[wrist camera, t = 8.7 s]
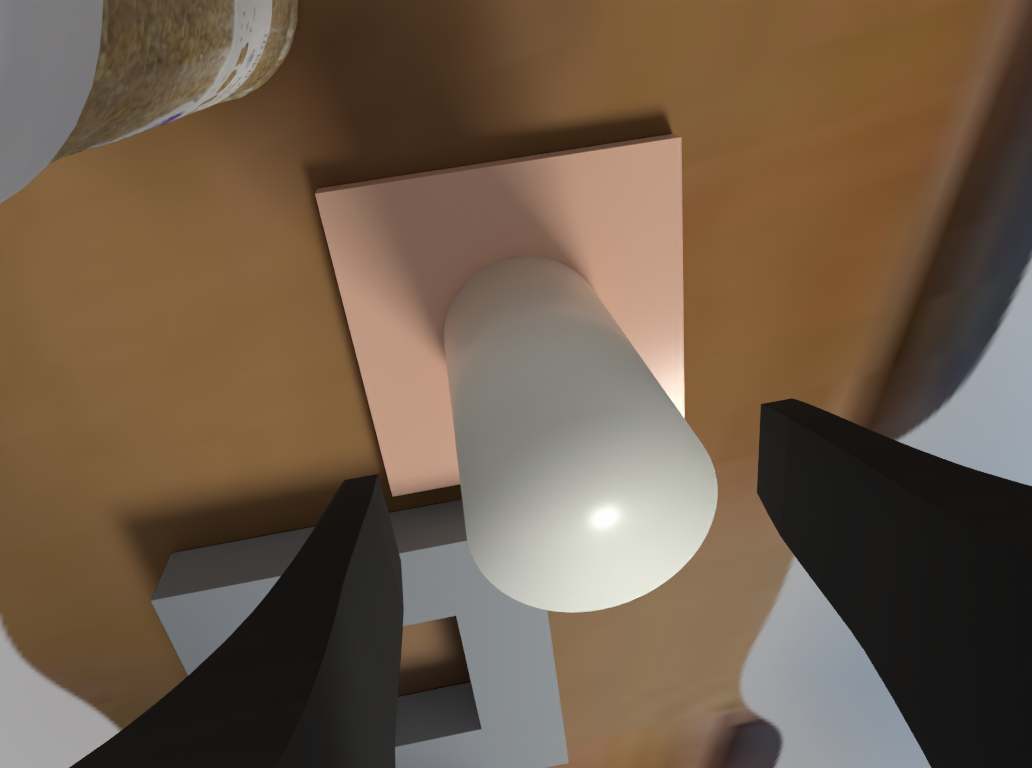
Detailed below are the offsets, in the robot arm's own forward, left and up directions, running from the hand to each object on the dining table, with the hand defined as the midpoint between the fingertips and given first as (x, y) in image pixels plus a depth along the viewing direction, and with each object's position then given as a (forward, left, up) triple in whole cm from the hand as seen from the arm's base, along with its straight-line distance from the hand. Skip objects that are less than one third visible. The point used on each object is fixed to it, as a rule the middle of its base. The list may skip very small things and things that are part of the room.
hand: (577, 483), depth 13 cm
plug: (0, 0, -7) cm, 7 cm away
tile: (0, 0, -8) cm, 8 cm away
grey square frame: (-11, +6, -8) cm, 15 cm away
